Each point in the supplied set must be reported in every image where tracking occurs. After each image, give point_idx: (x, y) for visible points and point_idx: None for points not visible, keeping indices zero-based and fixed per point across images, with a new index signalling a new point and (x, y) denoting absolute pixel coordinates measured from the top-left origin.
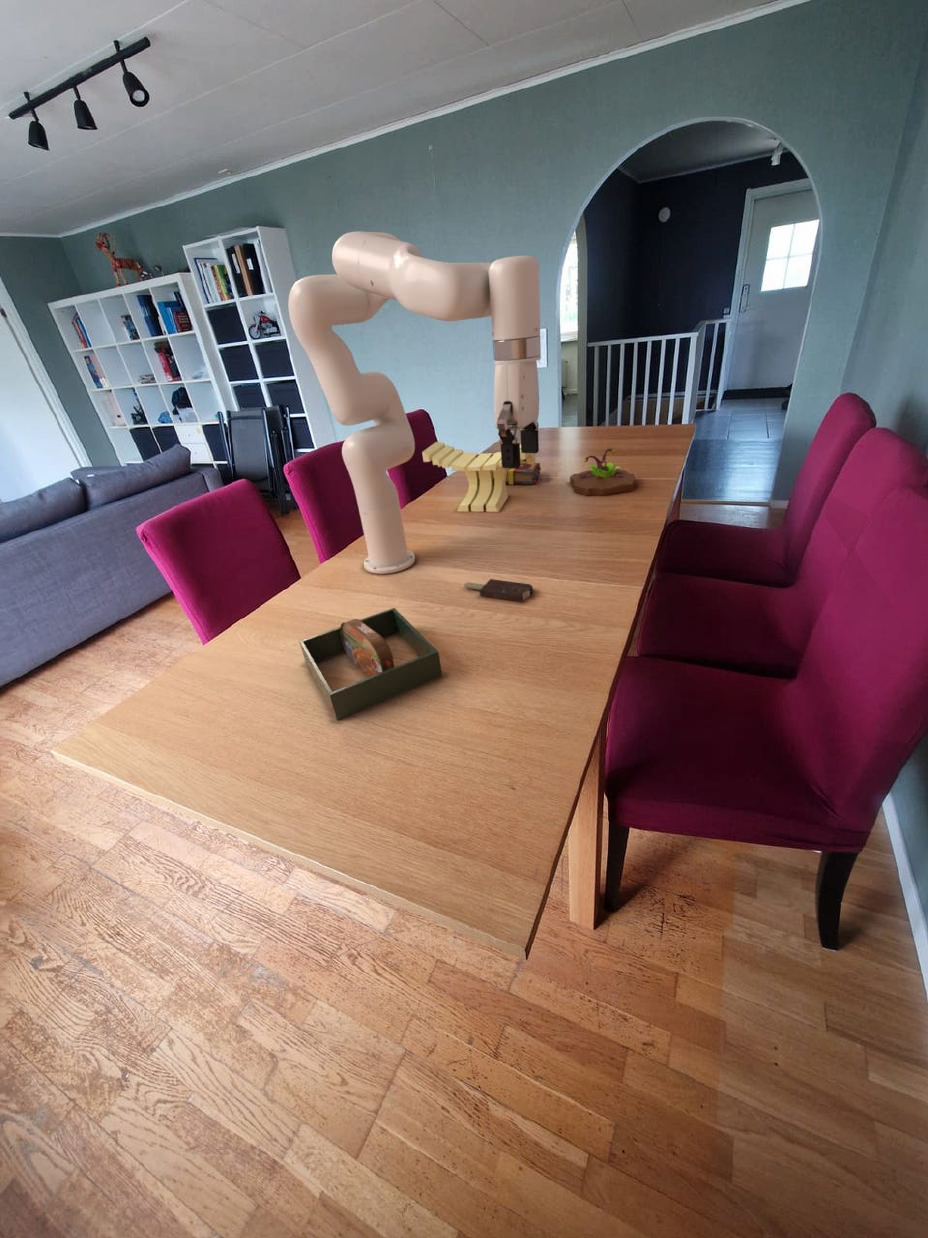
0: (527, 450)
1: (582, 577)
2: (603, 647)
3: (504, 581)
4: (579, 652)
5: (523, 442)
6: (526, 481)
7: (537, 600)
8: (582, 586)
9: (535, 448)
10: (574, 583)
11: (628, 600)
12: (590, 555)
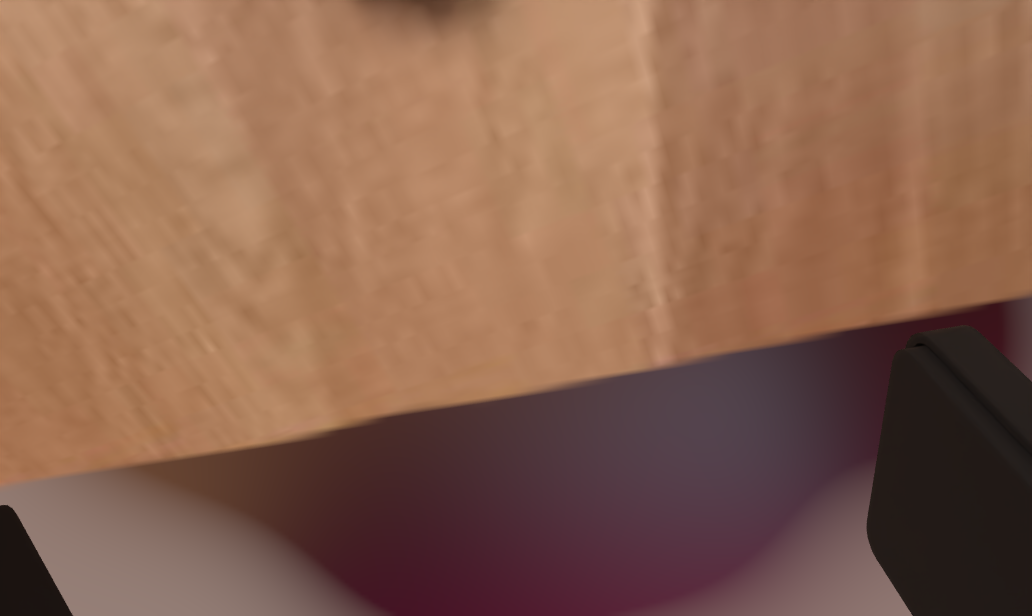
0: (896, 452)
1: (699, 142)
2: (183, 415)
3: None
4: (100, 365)
5: (991, 494)
6: None
7: (395, 38)
8: (609, 177)
9: (896, 576)
10: (628, 132)
11: (547, 374)
12: (954, 83)
